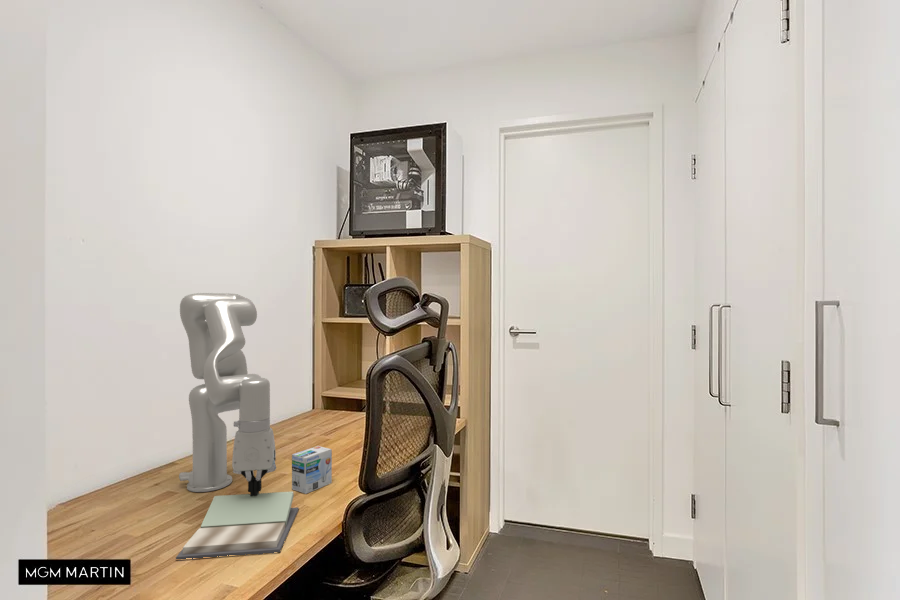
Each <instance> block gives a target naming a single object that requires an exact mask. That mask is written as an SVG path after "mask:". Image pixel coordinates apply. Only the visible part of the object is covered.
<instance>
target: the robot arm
mask: <svg viewBox="0 0 900 600" xmlns="http://www.w3.org/2000/svg"><path fill="white" fill-rule="evenodd" d="M179 315H180V320H181V324H182V325H183V327H184V330H185V332H186V335H187V338H188V339H187V340H188V350H189V357H190V359H189V360H190V367H191V373H192V375H193V377H194V378H195V379H197V380H204V383H203V384H199V385H196V386H195V387H193V388H192V389H191V390H190V392H189V394H188V404H189V410H190V415H191V428H192V433H191V434H192V436H191V437H192V470H191V471H190V472H189V471H184V472H183V471H181V472H179V475H178V479H179V480H180V482H182V481H184V482H185V481H188V483H187V485H186V489H187V490H188V491H189V492H192V493H193V492H194V493H206V492H213V491H218V490H220V489H223V488H226V487H227V486H229V485H230V484H232V482H233V476H232V475H230V474H228V466H227V465H228V464H227V463H228V458H227V457H228V456H227V455H228V454H227V451H228V450H227V449H228V444H227V443H228V442H227V437H228V436H227V431H228V430H227V425H226V422H225V420H223V419H222V418H221V417H220V416H219V414H220V413H225V412H230V411H236V410H238V411H239V414H238V415H239V417H238V418H239V419H238V420H235V421H233V427H234V428H235V427H236V428H238V430H237V431H235V435H234V440H233V448H232V460H231V461H232V463H231V466H232V472H233V474H237V475H242V476H243V478H245V480H246V482H247V491H248V493H249V494H250V496H253V495H254V496H257V495H258V493H260V492H261V491H262V478H264V476H266V474H268V473H272V472H274V471H276V470H277V464H276V460H277V459H276V458H277V457H276V455H277V454H276V453H277V451H276V442H275V436H274V435H275V434H274V430H273V428H272V427H271V384H270V381H269V379H268V378H265V377H261V375H259V374H258V373H248V365H247V359H246V356H245V354H244V352H243V351H242V349H243V348H244V347H245V345H246V338H245V335H244V333H243V332H244V331H243V329H242V327H247V326H249V327H250V326H252V325H254V324H255V323H256V321H257V317H258V312H257V307H256V306H255V304H254V303H253V301H252V300H251V299H250V298H247V297H245V296H242V295H240V294H237V293H229V292H228V293H227V292H226V293H223V292H222V293H218V292H217V293H213V292H200V293H199V292H198V293H190V294H187V295H185V296H184V297H182V299H181V301H180V304H179ZM254 471H256V474H254Z"/></svg>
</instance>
